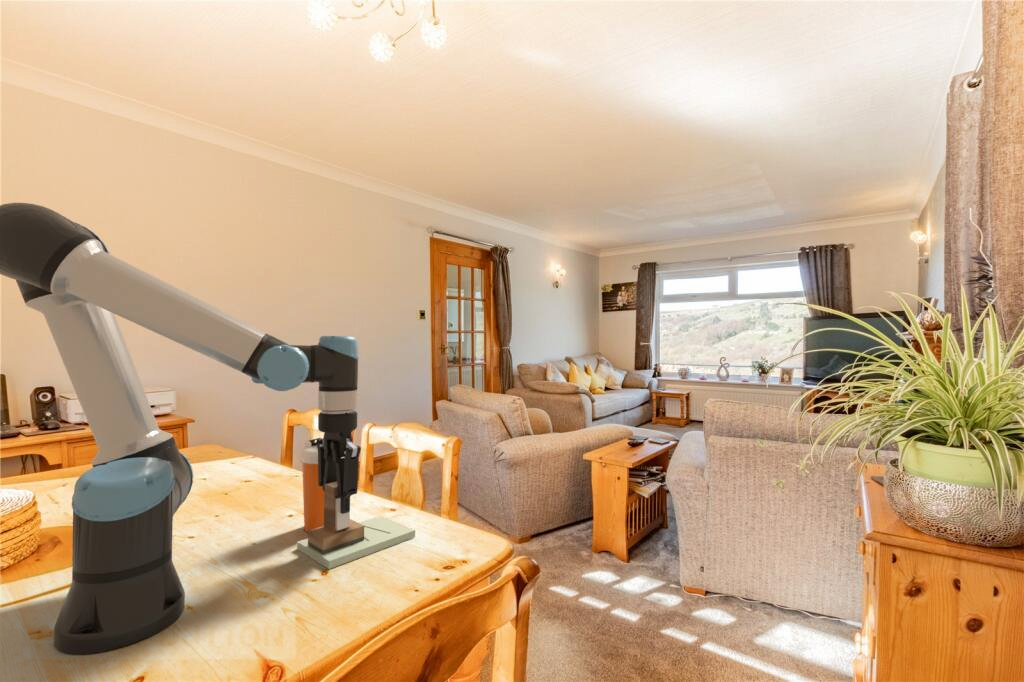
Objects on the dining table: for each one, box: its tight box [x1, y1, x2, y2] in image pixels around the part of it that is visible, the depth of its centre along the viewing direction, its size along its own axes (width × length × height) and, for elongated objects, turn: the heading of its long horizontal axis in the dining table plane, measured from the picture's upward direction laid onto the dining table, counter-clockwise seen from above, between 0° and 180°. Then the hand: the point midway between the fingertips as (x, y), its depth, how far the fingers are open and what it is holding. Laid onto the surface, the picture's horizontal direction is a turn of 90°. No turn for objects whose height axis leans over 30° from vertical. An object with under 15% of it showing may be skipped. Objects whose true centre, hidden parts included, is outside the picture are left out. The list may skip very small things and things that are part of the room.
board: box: [296, 515, 416, 570], centre depth 100 cm, size 20×13×2 cm, turn 139°
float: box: [307, 481, 364, 554], centre depth 97 cm, size 9×6×12 cm, turn 139°
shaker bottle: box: [300, 437, 344, 533], centre depth 109 cm, size 9×9×20 cm
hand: (336, 525), depth 97 cm, fingers closed on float, 4 cm apart
